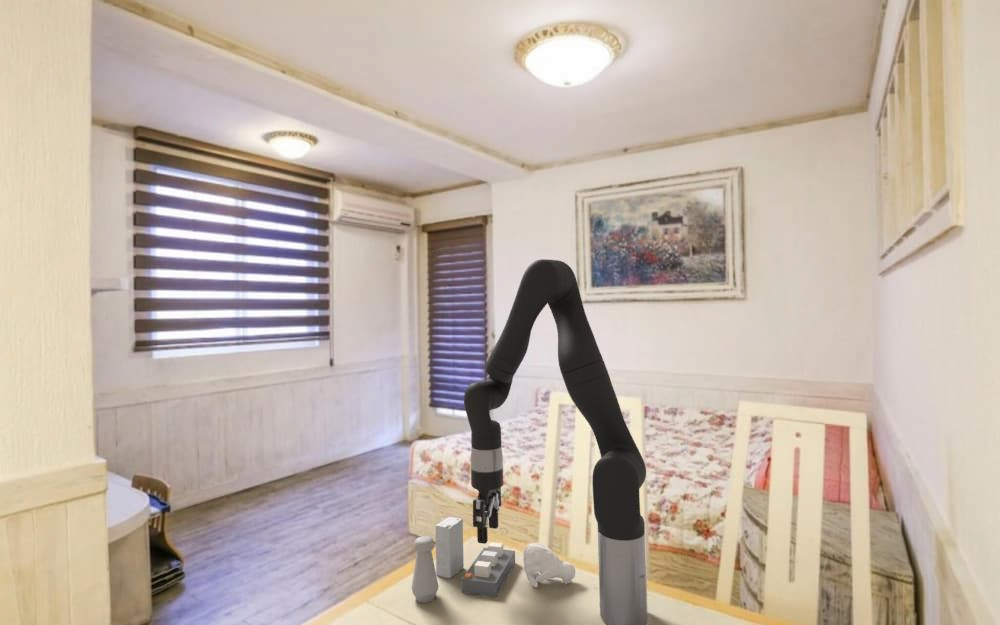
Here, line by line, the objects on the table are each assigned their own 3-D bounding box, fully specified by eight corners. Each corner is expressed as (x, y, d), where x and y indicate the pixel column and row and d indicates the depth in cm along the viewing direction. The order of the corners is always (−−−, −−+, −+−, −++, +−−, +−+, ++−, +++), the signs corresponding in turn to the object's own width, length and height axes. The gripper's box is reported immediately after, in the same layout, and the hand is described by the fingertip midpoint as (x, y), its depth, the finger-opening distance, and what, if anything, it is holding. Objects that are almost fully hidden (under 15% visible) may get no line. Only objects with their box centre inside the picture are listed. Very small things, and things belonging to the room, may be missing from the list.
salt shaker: (433, 606, 111) (431, 545, 111) (408, 604, 112) (406, 543, 112) (442, 592, 117) (440, 533, 117) (417, 589, 118) (416, 532, 118)
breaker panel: (515, 562, 129) (514, 541, 129) (496, 597, 114) (495, 572, 114) (484, 559, 132) (483, 537, 132) (461, 592, 116) (461, 568, 116)
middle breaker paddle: (497, 562, 123) (497, 552, 123) (494, 566, 121) (494, 556, 121) (484, 560, 124) (484, 550, 124) (481, 565, 122) (481, 554, 122)
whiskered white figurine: (525, 537, 124) (576, 543, 122) (523, 572, 124) (574, 580, 122) (522, 549, 117) (576, 556, 116) (520, 586, 118) (574, 594, 116)
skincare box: (449, 564, 129) (448, 515, 129) (464, 568, 127) (463, 518, 127) (435, 576, 124) (433, 524, 124) (451, 580, 122) (449, 527, 122)
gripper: (493, 476, 115) (494, 550, 115) (510, 458, 129) (511, 524, 129) (461, 474, 117) (462, 546, 117) (481, 456, 131) (482, 521, 131)
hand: (488, 535), depth 123 cm, fingers open, 8 cm apart
